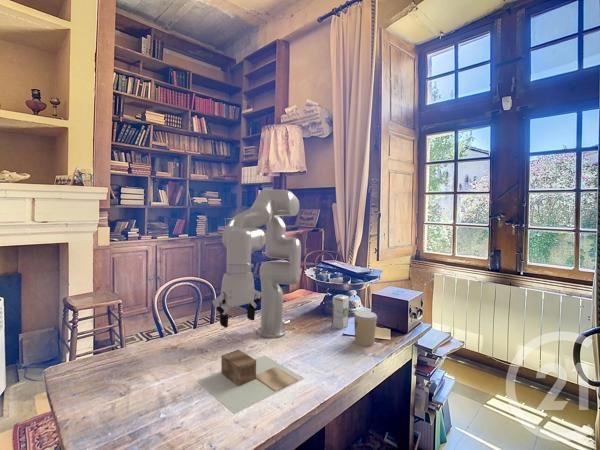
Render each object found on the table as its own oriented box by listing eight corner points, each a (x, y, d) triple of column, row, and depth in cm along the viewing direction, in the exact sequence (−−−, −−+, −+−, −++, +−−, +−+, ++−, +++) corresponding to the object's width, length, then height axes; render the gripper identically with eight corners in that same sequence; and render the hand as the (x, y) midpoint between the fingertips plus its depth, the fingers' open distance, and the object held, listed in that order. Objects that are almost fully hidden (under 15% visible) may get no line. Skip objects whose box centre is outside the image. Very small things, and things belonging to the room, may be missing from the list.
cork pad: (275, 367, 106) (275, 366, 106) (298, 380, 99) (298, 379, 99) (253, 376, 100) (253, 375, 100) (276, 391, 92) (276, 390, 92)
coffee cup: (356, 336, 138) (357, 309, 137) (378, 340, 134) (379, 312, 133) (350, 344, 129) (351, 315, 129) (373, 349, 125) (374, 319, 125)
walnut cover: (221, 373, 102) (221, 355, 101) (238, 366, 106) (238, 349, 106) (238, 386, 95) (238, 367, 94) (255, 378, 99) (256, 360, 99)
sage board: (264, 358, 115) (264, 355, 115) (304, 382, 100) (305, 378, 100) (196, 384, 97) (196, 380, 97) (234, 418, 82) (234, 414, 82)
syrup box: (337, 323, 153) (338, 293, 152) (348, 326, 149) (349, 296, 148) (331, 326, 148) (332, 296, 147) (342, 329, 144) (343, 298, 144)
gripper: (254, 264, 107) (253, 314, 108) (207, 270, 95) (206, 325, 96) (268, 267, 102) (267, 319, 103) (219, 274, 90) (219, 333, 91)
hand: (237, 322), depth 99 cm, fingers open, 9 cm apart
